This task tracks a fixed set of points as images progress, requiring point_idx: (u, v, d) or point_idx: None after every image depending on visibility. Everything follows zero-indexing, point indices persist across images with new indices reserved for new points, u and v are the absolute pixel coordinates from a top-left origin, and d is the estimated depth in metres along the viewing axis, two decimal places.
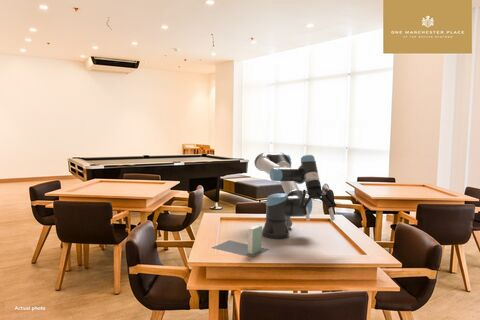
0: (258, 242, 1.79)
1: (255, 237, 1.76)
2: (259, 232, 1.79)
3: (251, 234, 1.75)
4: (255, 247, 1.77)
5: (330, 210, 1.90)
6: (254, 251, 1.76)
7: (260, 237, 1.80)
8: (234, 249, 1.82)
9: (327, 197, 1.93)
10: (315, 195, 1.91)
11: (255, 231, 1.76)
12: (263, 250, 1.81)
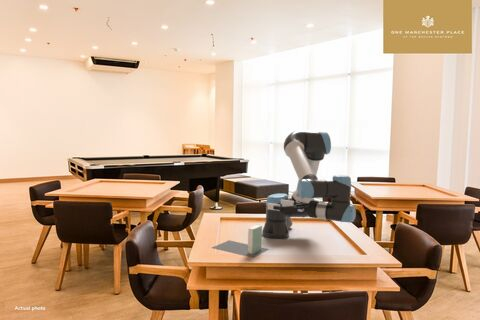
0: (258, 242, 1.79)
1: (255, 237, 1.76)
2: (259, 232, 1.79)
3: (251, 234, 1.75)
4: (255, 247, 1.77)
5: (290, 204, 1.76)
6: (254, 251, 1.76)
7: (260, 237, 1.80)
8: (234, 249, 1.82)
9: None
10: None
11: (255, 231, 1.76)
12: (263, 250, 1.81)
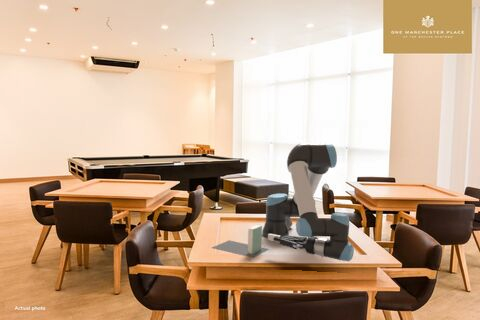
0: (258, 242, 1.79)
1: (255, 237, 1.76)
2: (259, 232, 1.79)
3: (251, 234, 1.75)
4: (255, 247, 1.77)
5: None
6: (254, 251, 1.76)
7: (260, 237, 1.80)
8: (234, 249, 1.82)
9: None
10: None
11: (255, 231, 1.76)
12: (263, 250, 1.81)
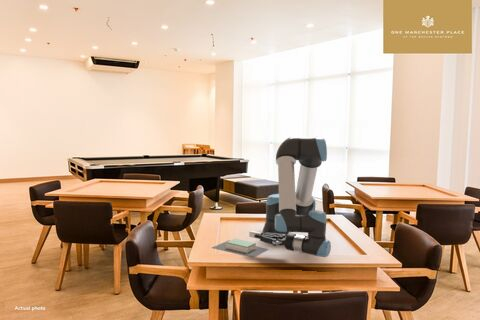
0: (244, 242, 1.83)
1: (235, 242, 1.82)
2: (237, 240, 1.86)
3: (231, 245, 1.81)
4: (244, 244, 1.80)
5: None
6: (247, 245, 1.78)
7: (243, 241, 1.86)
8: None
9: None
10: None
11: (230, 241, 1.84)
12: (263, 250, 1.81)
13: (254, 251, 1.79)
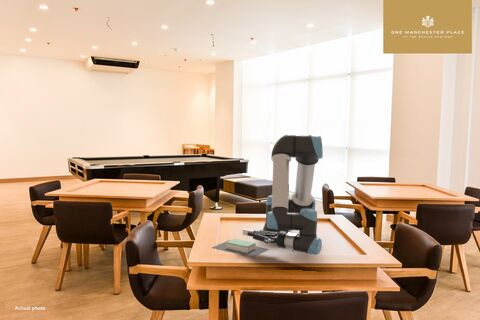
0: (244, 242, 1.83)
1: (235, 242, 1.82)
2: (237, 240, 1.86)
3: (231, 245, 1.81)
4: (244, 244, 1.80)
5: None
6: (247, 245, 1.78)
7: (243, 241, 1.86)
8: None
9: None
10: None
11: (230, 241, 1.84)
12: (263, 250, 1.81)
13: (254, 251, 1.79)
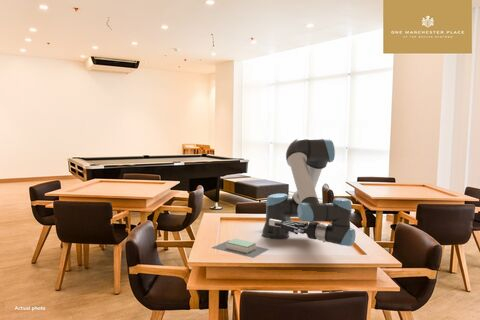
0: (244, 242, 1.83)
1: (235, 242, 1.82)
2: (237, 240, 1.86)
3: (231, 245, 1.81)
4: (244, 244, 1.80)
5: None
6: (247, 245, 1.78)
7: (243, 241, 1.86)
8: None
9: None
10: None
11: (230, 241, 1.84)
12: (263, 250, 1.81)
13: (254, 251, 1.79)
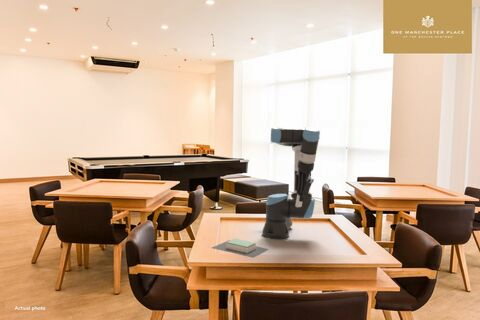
0: (244, 242, 1.83)
1: (235, 242, 1.82)
2: (237, 240, 1.86)
3: (231, 245, 1.81)
4: (244, 244, 1.80)
5: None
6: (247, 245, 1.78)
7: (243, 241, 1.86)
8: None
9: None
10: (301, 176, 1.78)
11: (230, 241, 1.84)
12: (263, 250, 1.81)
13: (254, 251, 1.79)
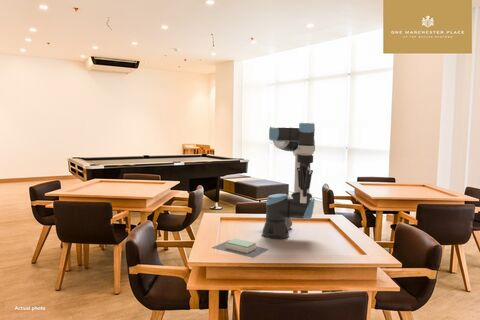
0: (244, 242, 1.83)
1: (235, 242, 1.82)
2: (237, 240, 1.86)
3: (231, 245, 1.81)
4: (244, 244, 1.80)
5: None
6: (247, 245, 1.78)
7: (243, 241, 1.86)
8: None
9: None
10: None
11: (230, 241, 1.84)
12: (263, 250, 1.81)
13: (254, 251, 1.79)
